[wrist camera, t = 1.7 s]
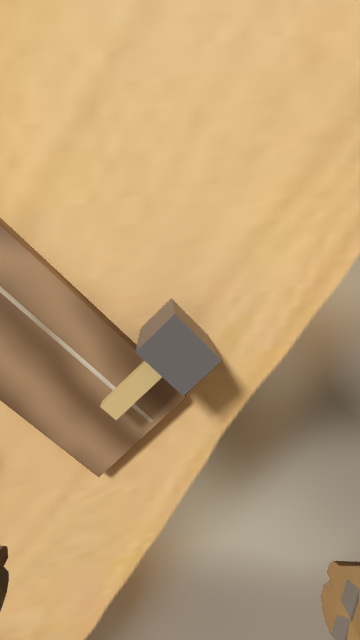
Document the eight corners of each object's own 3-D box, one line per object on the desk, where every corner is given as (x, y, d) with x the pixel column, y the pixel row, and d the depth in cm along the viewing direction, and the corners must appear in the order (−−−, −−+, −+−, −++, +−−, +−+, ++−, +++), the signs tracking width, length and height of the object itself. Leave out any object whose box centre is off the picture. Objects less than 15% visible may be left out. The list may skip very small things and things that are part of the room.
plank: (101, 466, 32) (98, 478, 30) (-143, 271, 26) (-163, 273, 25) (184, 389, 31) (186, 397, 29) (-54, 167, 25) (-69, 161, 23)
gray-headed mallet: (134, 403, 31) (127, 447, 24) (97, 370, 30) (78, 406, 23) (207, 334, 30) (221, 360, 23) (171, 298, 29) (174, 313, 22)
